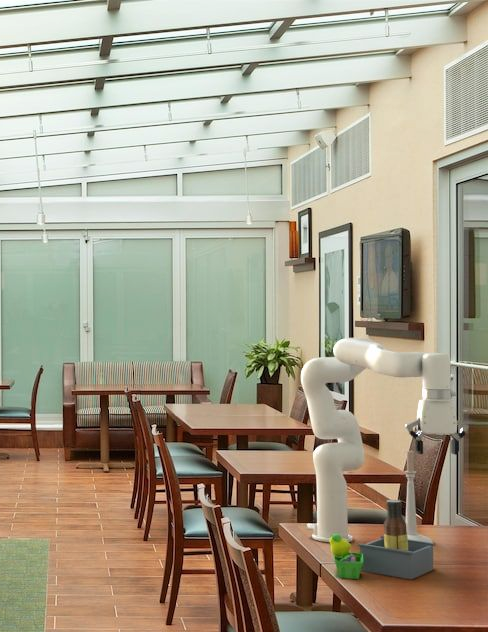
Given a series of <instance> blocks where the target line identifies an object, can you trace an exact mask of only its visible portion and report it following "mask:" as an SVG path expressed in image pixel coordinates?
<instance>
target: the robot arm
mask: <svg viewBox="0 0 488 632" xmlns="http://www.w3.org/2000/svg"><path fill="white" fill-rule="evenodd" d="M332 350H333V355H334V356H323V357H315V358H311V359H310V360H308V361H307V362H305V364H304V365H303V368H302V369H301V373H300V383H301V386H302V389H303V392H304V395H305V399H306V403H307V408H308V409H307V410H308V414H309V420H310V425H311V429H312V432H313V435H314V436H315V437H316V438H317V439H321V440H337V442H326V443H323V444H320V445H318V446H317V447H316V448H315V450H314V451H313V453H312V460H313V467H314V471H315V479H316V480H315V481H316V523H309V522H308V523H307V524H306V530H307V531H312V532H313V533H312V535H311V536H312V537H311V538H312V539H313V540H315V541H318V542H321V543H322V542H323V543H330V538H331V537H332V536H331V535H332V534H333V535H334V534H339V535H340V536H341V537H342V538H343V539H345V540H346V541H347V542H348V543H351V542H353V541H354V537H353V535H351V534H349V523H348V520H349V519H348V518H349V517H348V511H349V510H348V483H347V480H346V479H345V476H344V474H343V472H350V471H357V470H359V469H361V468H362V466H363V465H364V463H365V457H366V456H365V448H364V444H363V439H362V434H361V429H360V425H359V422H358V419H357V417H356V416H355V415H354V414H353V413H352V412H351V411H349V410H347V409H337V408H336V404H335V398H334V396H333V394H332V391H331V390H330V389H329V387H328V386H327V385H326V384H328V383H329V384H330V383H331V384H334V383H347V382H350V381H352V380H354V379H355V378H357V377H358V375H359V376H360V374H361V373H362V372H363V371H365V370H366V369H367V370H371V371H373V372H374V373H377V374H379V375H384V376H389V377H393V378H422V379H421V380H422V383H421V385H422V399H419V400H418V405H417V412H416V419H415V420H413V421H411V422H409V423H407V424H405V429H406V430H407V432H408V434H409V435H410V437H412V438H413V440H414V443H415V445H414V446H415V449H414V450H415V452H416V453H417V454H418V455H424V441H423V440H422V439H423V438H424V437H425V436H426V435H449V436H450V438H452V439H450V453H451V454H452V455H455V456H456V455H457V456H458V455H459V454H458V453H459V451H460V441H462V439H463V438H464V436H466V433H467V432H468V430H469V425H468V424H467V423H466V424H465V423H463V422H462V421H460V420H457V412H456V407H455V402H454V400H452V398H453V397H456V396H457V392H456V391H453V390H452V384H451V383H452V381H451V380H452V379H451V378H452V375H451V372H452V371H451V368H452V367H451V356H450V355H449V354H448V353H441V352H424V351H392V350H387V348H386V346H384V345H383V344H382V343H379V342H375V341H373V340H372V339H370V338H368V337H345V338H342V339H339V340H338V341H337V342H336V343H335V344H334V346H333V349H332ZM414 427H416V431H417V432H415V430H414ZM458 427H460V431H459V432H457V430H458Z"/></svg>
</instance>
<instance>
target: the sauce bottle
mask: <svg viewBox="0 0 488 632" xmlns="http://www.w3.org/2000/svg"><path fill="white" fill-rule="evenodd" d="M385 504H386V508H387V513H386V514H387V516H386V518H385V521H384V522H383V536H384V544H385V547H386V548H392V549H399V550H405V551H408V537H407V527H406V520H405V519H404V517H403V515H402V506H403V503H402V501H401V500H399V499H387V500H386V502H385Z"/></svg>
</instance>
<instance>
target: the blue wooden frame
mask: <svg viewBox="0 0 488 632" xmlns="http://www.w3.org/2000/svg"><path fill="white" fill-rule="evenodd" d="M435 545H436V543H435V542H433V543H430V542H423V541H416V540H410V539H408V551H405V550H399V549H392V548H386V547H385V544H384V534H383V535H380V538H379V539H375V540H373V541H370V542H367V543H357V547H359V553H361V554H363V565H362V567H361V571H360V572H366V573H371V574H372V573H373V574H378V575H383V576H389V577H394V578H399V579H400V578H401V579H405V580H413V579H414V580H415V579H416V578H418V577H420V576H422V575H425V574H427V573H430V572H432V571H433V570H434V546H435Z"/></svg>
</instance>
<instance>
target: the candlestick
mask: <svg viewBox="0 0 488 632" xmlns="http://www.w3.org/2000/svg"><path fill="white" fill-rule="evenodd" d="M414 452H415V451H414V450H406V470H404V473H405V477H406V478H407V482H406V483H407V484H406V502H405V503H406V504H405V505H406V506H405V523H406V527H407V537H408V539H410V540H416V541H423V542H430V543H434V541H433V540H432V539H431V538H430V537H428V536H426V535H423V534H420V533H418V525H417V509H416V495H415V494H416V493H415V482H414V479H415V478H416V474H417V471H415V462H414V461H415V455H414V454H415V453H414Z"/></svg>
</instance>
